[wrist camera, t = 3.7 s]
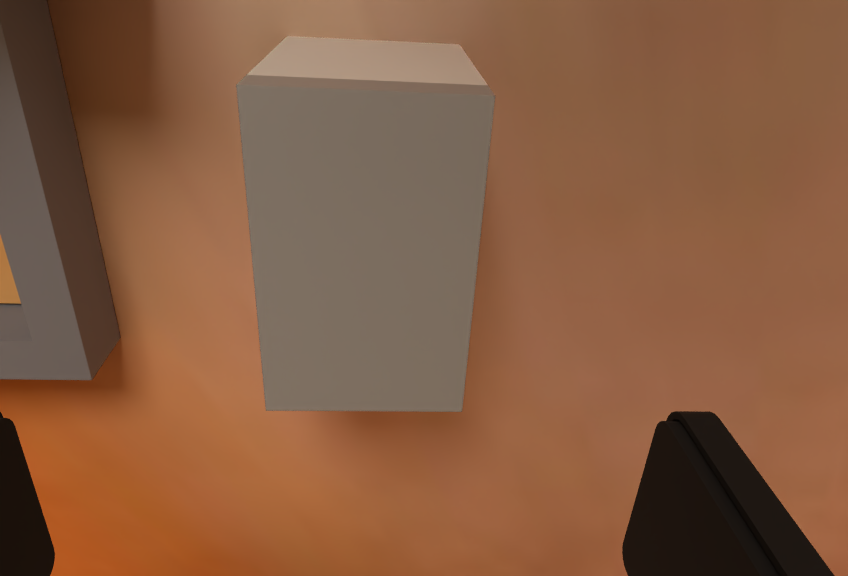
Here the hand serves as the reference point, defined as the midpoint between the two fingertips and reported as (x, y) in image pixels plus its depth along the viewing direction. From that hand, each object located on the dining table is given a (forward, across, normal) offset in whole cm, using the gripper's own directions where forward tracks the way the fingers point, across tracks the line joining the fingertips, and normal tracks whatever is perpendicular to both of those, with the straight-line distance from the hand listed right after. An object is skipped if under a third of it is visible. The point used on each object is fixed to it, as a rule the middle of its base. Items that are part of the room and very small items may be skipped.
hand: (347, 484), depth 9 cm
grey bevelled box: (+13, 0, -1) cm, 13 cm away
